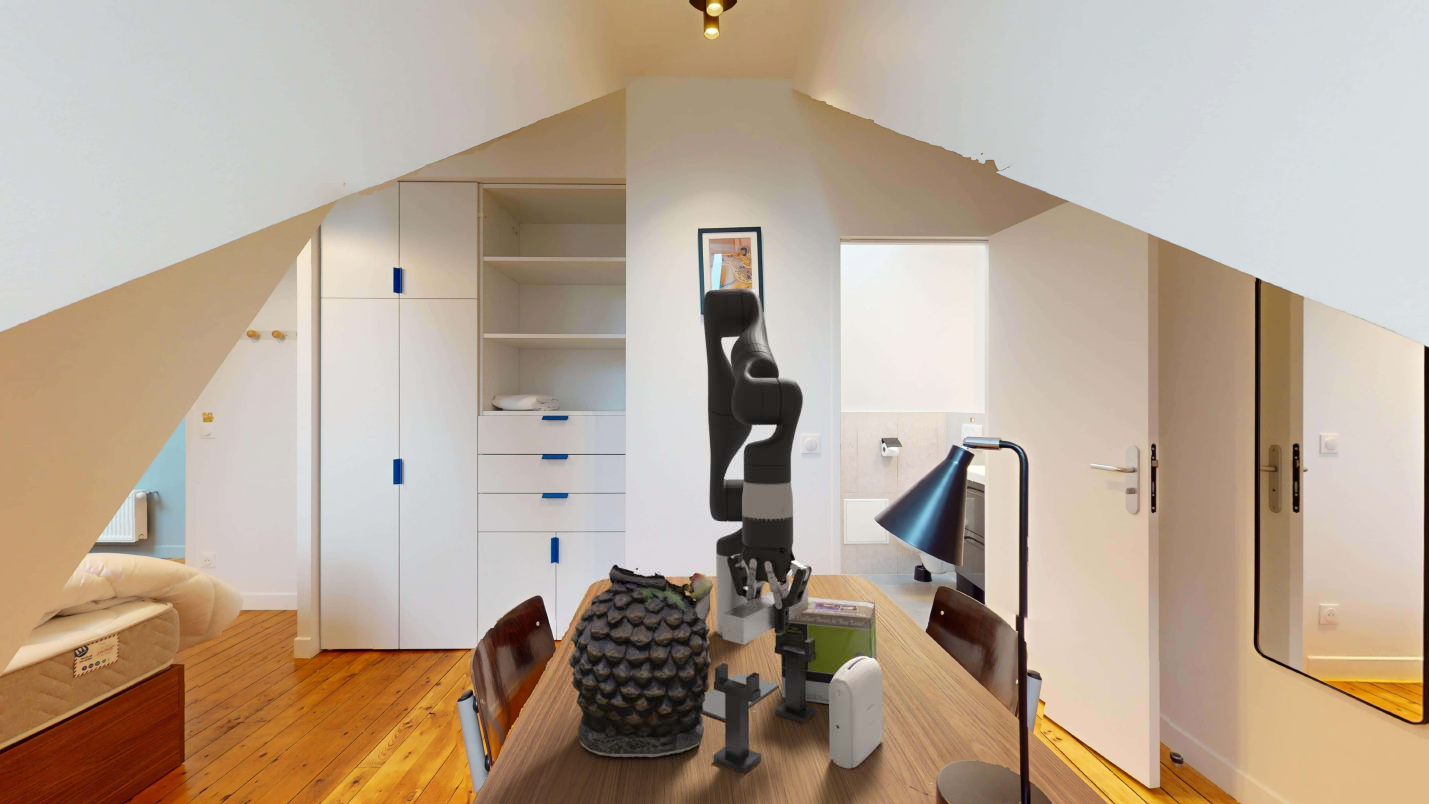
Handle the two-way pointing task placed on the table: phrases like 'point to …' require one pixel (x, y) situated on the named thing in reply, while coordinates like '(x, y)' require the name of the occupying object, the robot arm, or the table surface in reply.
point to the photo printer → (855, 711)
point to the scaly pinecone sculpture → (643, 665)
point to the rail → (756, 617)
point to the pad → (716, 699)
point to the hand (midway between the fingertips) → (768, 628)
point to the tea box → (831, 640)
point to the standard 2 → (795, 679)
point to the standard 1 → (737, 720)
